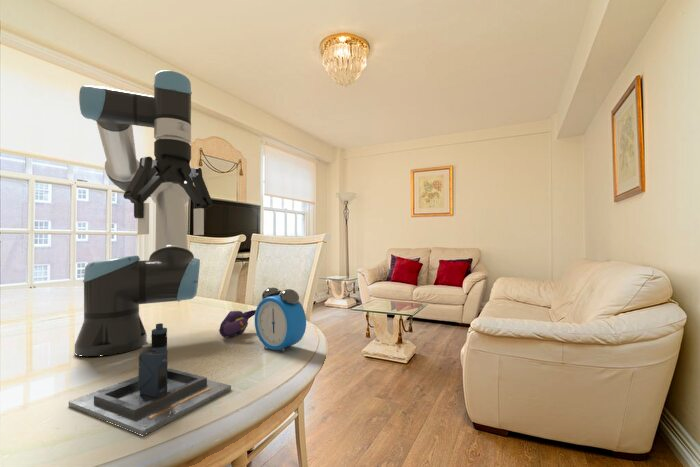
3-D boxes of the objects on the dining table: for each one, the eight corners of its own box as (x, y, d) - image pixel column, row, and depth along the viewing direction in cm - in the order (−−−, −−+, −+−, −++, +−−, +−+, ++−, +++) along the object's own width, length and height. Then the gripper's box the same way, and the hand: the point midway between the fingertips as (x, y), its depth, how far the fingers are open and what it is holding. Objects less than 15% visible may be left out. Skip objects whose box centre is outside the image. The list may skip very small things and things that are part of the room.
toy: (258, 330, 101) (259, 309, 101) (243, 344, 90) (244, 319, 90) (223, 327, 102) (224, 306, 102) (204, 340, 91) (205, 316, 90)
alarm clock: (253, 346, 85) (253, 288, 86) (272, 340, 91) (271, 285, 91) (290, 356, 78) (289, 292, 78) (307, 349, 83) (307, 288, 83)
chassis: (68, 406, 55) (68, 394, 55) (160, 371, 69) (160, 362, 70) (142, 436, 46) (142, 422, 46) (231, 389, 61) (231, 378, 61)
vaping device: (157, 398, 56) (158, 326, 56) (135, 393, 58) (135, 324, 58) (170, 391, 58) (171, 322, 58) (148, 387, 60) (149, 320, 60)
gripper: (125, 122, 63) (125, 233, 63) (227, 152, 86) (227, 234, 85) (103, 128, 67) (103, 234, 66) (206, 156, 89) (207, 235, 89)
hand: (173, 234), depth 76 cm, fingers open, 13 cm apart
